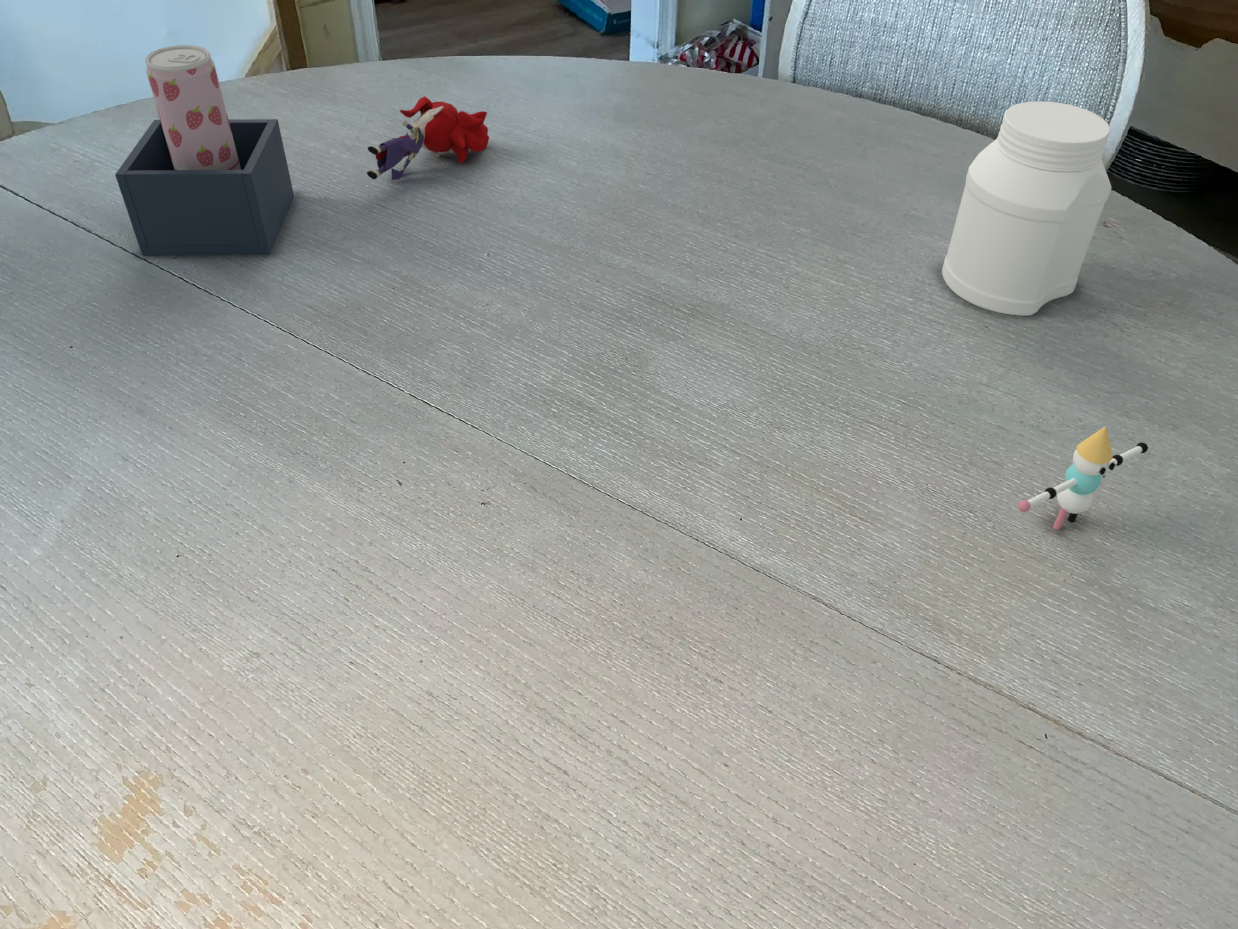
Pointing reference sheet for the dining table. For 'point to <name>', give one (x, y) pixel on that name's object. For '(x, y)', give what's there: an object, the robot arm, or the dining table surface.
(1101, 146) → the jar
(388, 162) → the figurine
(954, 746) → the dining table surface
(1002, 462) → the dining table surface
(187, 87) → the beverage can
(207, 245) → the bin
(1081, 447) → the toy figure
